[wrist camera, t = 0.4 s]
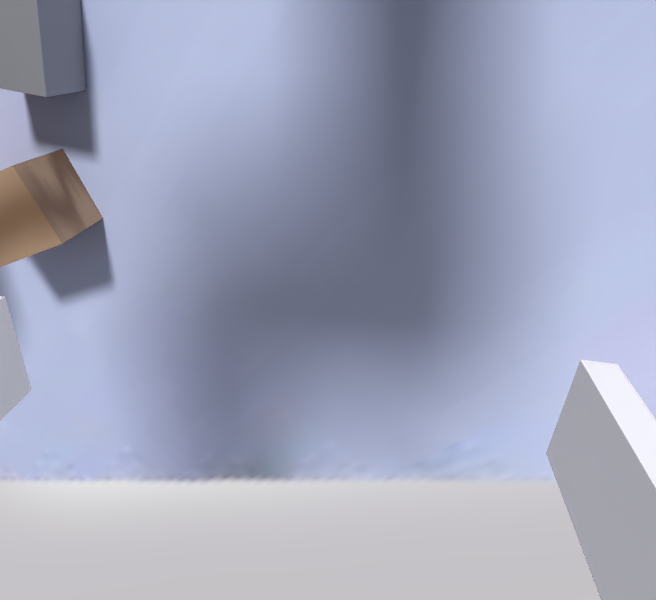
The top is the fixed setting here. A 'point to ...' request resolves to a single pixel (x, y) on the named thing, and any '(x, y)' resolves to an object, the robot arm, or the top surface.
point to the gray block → (41, 47)
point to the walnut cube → (42, 206)
